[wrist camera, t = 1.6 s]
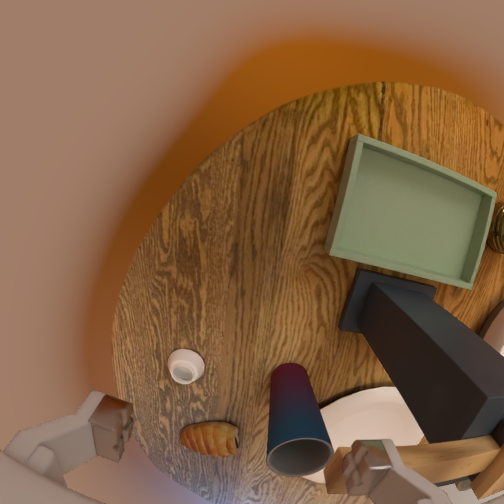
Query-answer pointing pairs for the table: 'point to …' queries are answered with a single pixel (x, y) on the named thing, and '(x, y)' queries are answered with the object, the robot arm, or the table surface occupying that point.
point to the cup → (295, 425)
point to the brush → (442, 463)
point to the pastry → (211, 438)
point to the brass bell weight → (497, 229)
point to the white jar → (185, 366)
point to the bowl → (494, 329)
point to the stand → (428, 357)
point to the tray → (409, 215)
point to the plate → (369, 420)
